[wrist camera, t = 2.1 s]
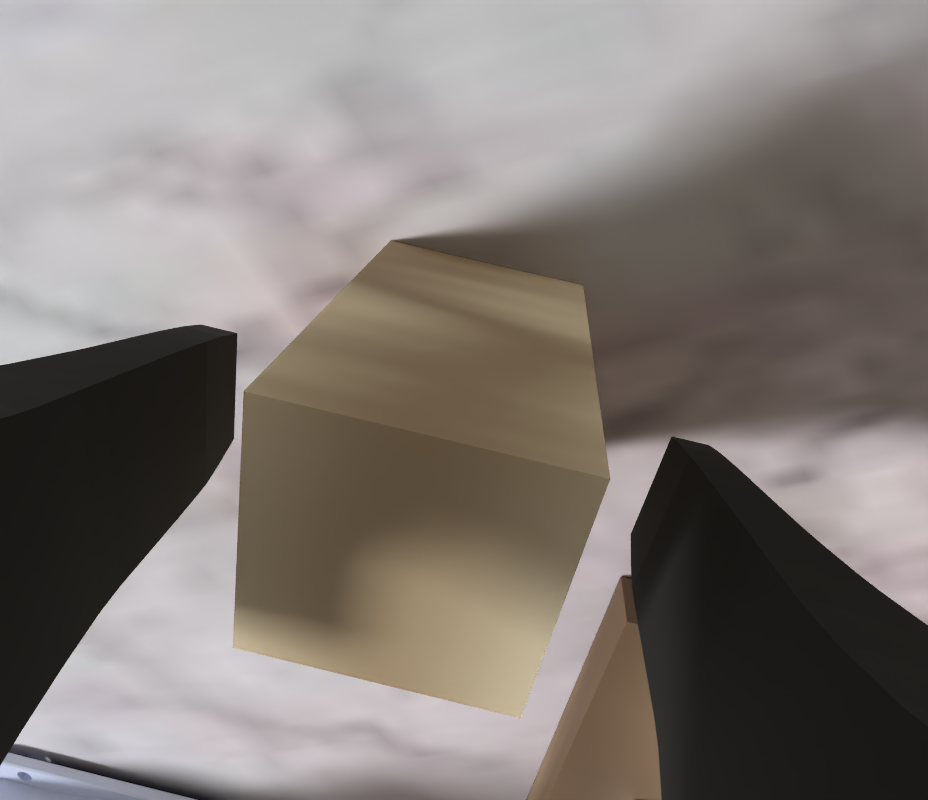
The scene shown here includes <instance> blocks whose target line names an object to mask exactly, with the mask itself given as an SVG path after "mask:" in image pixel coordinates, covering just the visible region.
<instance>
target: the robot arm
mask: <svg viewBox="0 0 928 800" xmlns="http://www.w3.org/2000/svg"><path fill="white" fill-rule="evenodd" d="M236 356H237V333H234V332H230V331H226V330H221V329H217V328H213V327H209V326H204V325H192V326H184V327H178V328H173V329H168V330H163V331H158V332H154V333H149V334H145V335H141V336H136V337H132V338H128V339H123V340H119V341H115V342H110V343H106V344H102V345H98V346H93V347H89V348H85V349H80V350H76V351H71V352H66V353H61V354H56V355H51V356H46V357H41V358H36V359H31V360H26V361H21V362H16V363H11V364H6V365H0V800H196V799H192V798H188V797H184V796H180V795H176V794H172V793H168V792H164V791H160V790H156V789H152V788H148V787H144V786H140V785H136V784H132V783H128V782H124V781H120V780H116V779H112V778H108V777H104V776H100V775H96V774H92V773H88V772H84V771H80V770H76V769H72V768H68V767H64V766H60V765H56V764H52V763H48V762H44V761H40V760H36V759H32V758H28V757H24V756H20V755H16V754H12V753H8V752H9V751H10V749H11V747H12V746H13V744H14V742H15V741H16V739H17V737H18V736H19V734H20V732H21V731H22V729H23V728H24V726H25V725H26V723H27V721H28V720H29V718H30V717H31V715H32V714H33V712H34V711H35V709H36V707H37V706H38V704H39V703H40V701H41V700H42V698H43V697H44V695H45V693H46V692H47V690H48V689H49V687H50V686H51V684H52V683H53V681H54V679H55V678H56V676H57V675H58V673H59V672H60V670H61V669H62V667H63V666H64V664H65V663H66V661H67V660H68V658H69V657H70V655H71V654H72V652H73V651H74V649H75V648H76V647H77V645H78V644H79V642H80V641H81V639H82V638H83V636H84V635H85V633H86V632H87V630H88V629H89V627H90V626H91V625H92V623H93V622H94V620H95V619H96V617H97V616H98V614H99V613H100V611H101V610H102V609H103V607H104V606H105V605H106V604H107V602H108V601H109V600H110V598H111V597H112V596H113V595H114V593H115V592H116V591H117V589H118V588H119V587H120V586H121V584H122V583H123V582H124V581H125V580H126V579H127V577H128V576H129V575H130V574H131V573H132V572H133V570H134V569H135V568H136V567H137V566H138V565H139V563H140V562H141V561H142V560H143V559H144V557H145V556H146V555H147V554H148V553H149V552H150V550H151V549H152V548H153V547H154V546H155V545H156V543H157V542H158V541H159V540H160V539H161V538H162V536H163V535H164V534H165V533H166V532H167V531H168V529H169V528H170V527H171V526H172V525H173V523H174V522H175V521H176V520H177V519H178V518H179V516H180V515H181V514H182V513H183V512H184V510H185V509H186V508H187V507H188V506H189V504H190V503H191V502H192V501H193V500H194V498H195V497H196V496H197V495H198V494H199V492H200V491H201V490H202V489H203V487H204V486H205V485H206V483H207V482H208V480H209V479H210V477H211V476H212V474H213V473H214V471H215V469H216V468H217V466H218V465H219V463H220V461H221V460H222V458H223V456H224V455H225V453H226V451H227V450H228V448H229V446H230V444H231V443H232V441H233V439H234V417H235V387H236ZM631 574H632V591H633V597H634V604H635V610H636V616H637V622H638V628H639V634H640V639H641V645H642V651H643V656H644V662H645V668H646V673H647V679H648V685H649V691H650V696H651V702H652V708H653V713H654V720H655V727H656V735H657V743H658V753H659V768H660V783H661V798H662V800H928V625H926V624H925V623H923V622H922V621H921V620H919V619H918V618H917V617H915V616H914V615H912V614H911V613H910V612H908V611H907V610H905V609H904V608H903V607H901V606H900V605H898V604H897V603H896V602H894V601H893V600H892V599H890V598H889V597H887V596H886V595H885V594H883V593H882V592H880V591H879V590H878V589H877V588H875V587H874V586H873V585H871V584H870V583H869V582H867V581H866V580H865V579H864V578H862V577H861V576H860V575H859V574H857V573H856V572H855V571H854V570H852V569H851V568H850V567H849V566H848V565H846V564H845V563H844V562H843V561H841V560H840V559H839V558H838V557H837V556H835V555H834V554H833V553H832V552H831V551H829V550H828V549H827V548H826V547H825V546H823V545H822V544H821V543H820V542H819V541H817V540H816V539H815V538H814V537H813V536H812V535H811V534H809V533H808V532H807V531H806V530H805V529H804V528H803V527H801V526H800V525H799V524H798V523H797V522H796V521H795V520H794V519H793V518H791V517H790V516H789V515H788V514H787V513H786V512H785V511H784V510H783V509H782V508H780V507H779V506H778V505H777V504H776V503H775V502H774V501H773V500H772V499H771V498H770V497H768V496H767V495H766V494H765V493H764V492H763V491H762V490H761V489H760V488H759V487H758V486H757V485H755V484H754V483H753V482H752V481H751V480H750V479H749V478H748V477H747V476H746V475H745V474H744V473H742V472H741V471H740V470H739V469H738V468H737V467H736V466H735V465H734V464H732V463H731V462H730V461H729V460H728V459H727V458H725V457H724V456H723V455H722V454H721V453H719V452H718V451H717V450H715V449H714V448H712V447H711V446H709V445H706V444H701V443H697V442H693V441H689V440H685V439H680V438H676V437H671V439H670V442H669V444H668V447H667V449H666V451H665V454H664V456H663V459H662V461H661V463H660V466H659V468H658V471H657V473H656V475H655V478H654V480H653V483H652V485H651V487H650V490H649V492H648V495H647V497H646V499H645V502H644V504H643V507H642V509H641V511H640V514H639V516H638V518H637V521H636V523H635V526H634V528H633V530H632V533H631Z"/></svg>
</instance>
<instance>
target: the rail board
mask: <svg viewBox="0 0 928 800" xmlns="http://www.w3.org/2000/svg"><path fill="white" fill-rule="evenodd" d="M634 799H638V800H662V798H661V783H660V768H659V753H658V743H657V735H656V727H655V720H654V713H653V708H652V702H651V696H650V691H649V685H648V679H647V673H646V668H645V662H644V656H643V651H642V645H641V639H640V634H639V628H638V622H637V616H636V610H635V604H634V597H633V591H632V579H629V578H625V577H621V578H620V580H619V582H618V585H617V587H616V589H615V592H614V594H613V596H612V599H611V601H610V604H609V606H608V608H607V611H606V613H605V615H604V618H603V620H602V622H601V625H600V627H599V630H598V632H597V634H596V637H595V639H594V641H593V644H592V646H591V649H590V651H589V653H588V656H587V658H586V660H585V663H584V665H583V667H582V670H581V672H580V675H579V677H578V679H577V682H576V684H575V686H574V689H573V691H572V693H571V696H570V698H569V701H568V703H567V705H566V708H565V710H564V712H563V715H562V717H561V720H560V722H559V724H558V727H557V729H556V731H555V734H554V736H553V738H552V741H551V743H550V746H549V748H548V750H547V753H546V755H545V757H544V760H543V762H542V764H541V767H540V769H539V772H538V774H537V776H536V779H535V781H534V783H533V786H532V788H531V791H530V793H529V795H528V798H527V800H634Z"/></svg>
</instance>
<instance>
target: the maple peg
mask: <svg viewBox="0 0 928 800" xmlns="http://www.w3.org/2000/svg"><path fill="white" fill-rule="evenodd" d="M609 480H610V474H609V467H608V460H607V453H606V446H605V439H604V431H603V424H602V417H601V410H600V403H599V396H598V389H597V381H596V374H595V367H594V360H593V353H592V346H591V338H590V331H589V324H588V317H587V310H586V303H585V296H584V288H583V285H579V284H575V283H571V282H566V281H562V280H558V279H553V278H549V277H545V276H541V275H536V274H532V273H528V272H523V271H519V270H515V269H511V268H506V267H502V266H498V265H493V264H489V263H485V262H481V261H476V260H472V259H468V258H463V257H459V256H455V255H451V254H446V253H442V252H438V251H433V250H429V249H425V248H421V247H416V246H412V245H408V244H403V243H399V242H395V241H390V242H389V243H388V244H387V245H386V246H385V247H384V248H383V249H382V250H381V251H380V252H379V253H378V254H377V255H376V256H375V257H374V258H373V259H372V260H371V261H370V262H369V263H368V264H367V265H366V267H365V268H364V269H363V270H362V271H361V272H360V273H359V274H358V275H357V276H356V277H355V278H354V279H353V280H352V281H351V282H350V283H349V284H348V285H347V286H346V287H345V288H344V289H343V290H342V291H341V292H340V293H339V294H338V295H337V296H336V297H335V298H334V299H333V300H332V301H331V302H330V303H329V304H328V305H327V306H326V308H325V309H324V310H323V311H322V312H321V313H320V314H319V315H318V316H317V317H316V318H315V319H314V320H313V321H312V322H311V323H310V324H309V325H308V326H307V327H306V328H305V329H304V330H303V331H302V332H301V333H300V334H299V335H298V336H297V337H296V338H295V339H294V340H293V341H292V342H291V343H290V344H289V345H288V346H287V347H286V349H285V350H284V351H283V352H282V353H281V354H280V355H279V356H278V357H277V358H276V359H275V360H274V361H273V362H272V363H271V364H270V365H269V366H268V367H267V368H266V369H265V370H264V371H263V372H262V373H261V374H260V375H259V376H258V377H257V378H256V379H255V380H254V381H253V382H252V383H251V384H250V385H249V386H248V387H247V388H246V390H245V391H244V398H243V422H242V446H241V470H240V493H239V517H238V541H237V565H236V589H235V613H234V637H233V648H237V649H241V650H245V651H249V652H254V653H258V654H262V655H266V656H270V657H274V658H278V659H282V660H286V661H290V662H294V663H298V664H302V665H306V666H310V667H314V668H318V669H322V670H327V671H331V672H335V673H339V674H343V675H347V676H351V677H355V678H359V679H363V680H367V681H371V682H375V683H379V684H383V685H387V686H391V687H396V688H400V689H404V690H408V691H412V692H416V693H420V694H424V695H428V696H432V697H436V698H440V699H444V700H448V701H452V702H456V703H460V704H464V705H469V706H473V707H477V708H481V709H485V710H489V711H493V712H497V713H501V714H505V715H509V716H513V717H517V718H521V715H522V712H523V710H524V707H525V704H526V702H527V699H528V696H529V694H530V691H531V688H532V686H533V683H534V680H535V678H536V675H537V672H538V670H539V667H540V664H541V662H542V659H543V656H544V654H545V651H546V648H547V646H548V643H549V640H550V638H551V635H552V632H553V630H554V627H555V624H556V622H557V619H558V616H559V614H560V611H561V608H562V606H563V603H564V600H565V598H566V595H567V592H568V590H569V587H570V584H571V582H572V579H573V576H574V574H575V571H576V568H577V566H578V563H579V560H580V558H581V555H582V552H583V550H584V547H585V544H586V542H587V539H588V536H589V534H590V531H591V528H592V526H593V523H594V520H595V518H596V515H597V512H598V510H599V507H600V504H601V502H602V499H603V496H604V494H605V491H606V488H607V486H608V483H609Z"/></svg>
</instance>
